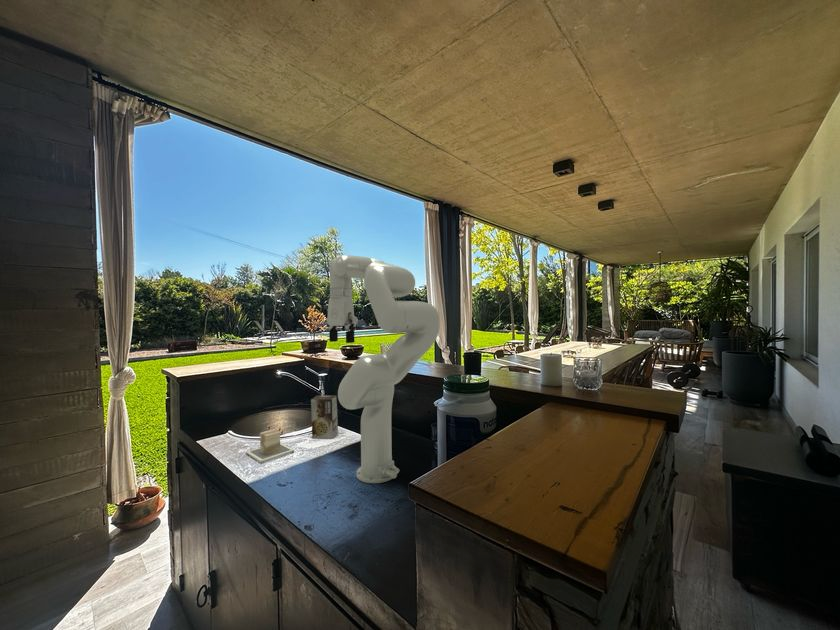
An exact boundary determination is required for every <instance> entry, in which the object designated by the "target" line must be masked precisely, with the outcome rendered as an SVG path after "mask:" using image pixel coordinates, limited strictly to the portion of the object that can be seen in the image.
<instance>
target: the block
mask: <svg viewBox="0 0 840 630" xmlns="http://www.w3.org/2000/svg"><path fill="white" fill-rule="evenodd" d="M259 438H260V439H259V440H260V441H259V443H260V444H259V445H260V447H259V448H260V452H261V453H263V454H264V455H266V456H268V455H271V454H274V453H277V452H280V443H281V432H280V431H278V430H276V429H275V428H274V429H270V430H265V431H261V432H259Z"/></svg>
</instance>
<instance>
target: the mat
mask: <svg viewBox="0 0 840 630" xmlns="http://www.w3.org/2000/svg"><path fill="white" fill-rule="evenodd" d="M294 453H295V449H294V448H291V447H289V446H288V445H285V444H283V443H282V442H280V452H277V453H274V454H271V455H268V456H266V455H264V454H263V453H261V452H260V447H257V448H253V449H250V450H247V451H246V452H245V455H246V456H248V457H249V456H250V458H251V459H253V460H255V461H256V462H257V461H258V463H259V464H261V463H262V464H264V462H265V463H267V461H268V462H270V460H271V461H273V459H274V460H277V459H279V458H282V457H285V456H288V455H291V454H294ZM276 458H277V459H276Z"/></svg>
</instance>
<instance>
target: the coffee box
mask: <svg viewBox="0 0 840 630" xmlns="http://www.w3.org/2000/svg"><path fill="white" fill-rule="evenodd" d="M310 406H311V409H310V410H311V438H312V439H334V438H335V437H336V436H338V434H339V429H338V428H339V424H338V423H339V421H338V415H339V414H338V394H337V395H336V394H335V395H331V394H330V395H328V394H327V395H316V396H314V397H313V398H311V399H310Z"/></svg>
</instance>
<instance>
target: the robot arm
mask: <svg viewBox="0 0 840 630" xmlns="http://www.w3.org/2000/svg"><path fill="white" fill-rule="evenodd" d="M352 279H359V280H360V279H361V280H363V281H364V282H363V283H364V289H365V293H366V296H367V299H368V301H369V303H370V306H371V308H372V312H373V313H374V317H375V319H376V322H377V325H378V326H379V327H380V329H381V330H382V331H384V332H385V333H388V334H403V335H401V336H400V337H398V338H397V339H396V340H394V342H393V343H392V345H391V346H390V348H388V350H386V351H385V352H383V353H382V352H381V353H377V354H368V355H363V356H361V357H359V358H358V359H357V360H356V361H354V363H353V364H352V365H351V367H350V368H349V370H348V371H347V372H346V373H345V375H344V377H343V378H342V379H341V382H340V383H339V385H338V390H337V400H338V401H339V404H340V405H341V406H342V407H343V408H345V409H346V410H349V411H350V410H358V409H363V410H362V413H361V416H360V462H361V463H360V464H361V466H359V468H357V469H356V472H355V473H356V478H357V479H358V480H359V481H360V482H363V483H366V484H382V483H385V482H388V481H391V480H393V479H396V478H397V476H398V474H399V472H400V469H399V468H398V467H396V465H395V460H393V455H392V452H393V451H392V448H393V447H392V441H393V440H392V408H393V398H394V394H395V385H397V384H398V383H400V382H401V381H402V380H403V379H404V378H405V377H406V376H407V374H408V373H409V372H410V371H411V370H412V369H413V368H414V366H415V365H416V364H417V363H418V362H419V360H420V359H421V358H422V357H423V356H424V355H425V354H426V353H427V352H428V351H429V350H430V349H431V347H433V346H434V344H435V342H436V340H437V338H438V336H439V332H440V327H441V325H440V324H441V322H440V315H439V314H440V313H439V312H438V310H437V308H436V307H435V306H434V305H432V304H431V303H428V302H425V301H419V300H396V299H395V298H403V297H406V296H408V295H410V294H411V293H412V292H413V291H414V289H415V287H416V278H415V277H414V275H413V273H412V272H411V271H410V270H408V269H407V268H404V267H400V266H398V265H394V264H391V263H387V262H385V261H382V260H379V259H376V258H372V257H365V256H359V255H350V254H342V255H340V256H338V257H337V258H332V259H331V260H329V299H328V305H327V317H326V318H325V321H326V324H327V325H326V327H328V328H327V330H328V331H329V333H328V335H329V342H330V343H333V342H338V341H339V340H338V339H339V335H338V334H339V332H338V328H339V327H343V326H344V327H345V329H346V331H345V343H347V344H352V343H355V332H356V329H357V326H358V322H359V319H358V317H356V316H355V312H354V309H355V308H354V302H353V295H352V294H353V292H352V291H353V285H352V283H353V282H352V281H353V280H352Z"/></svg>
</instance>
